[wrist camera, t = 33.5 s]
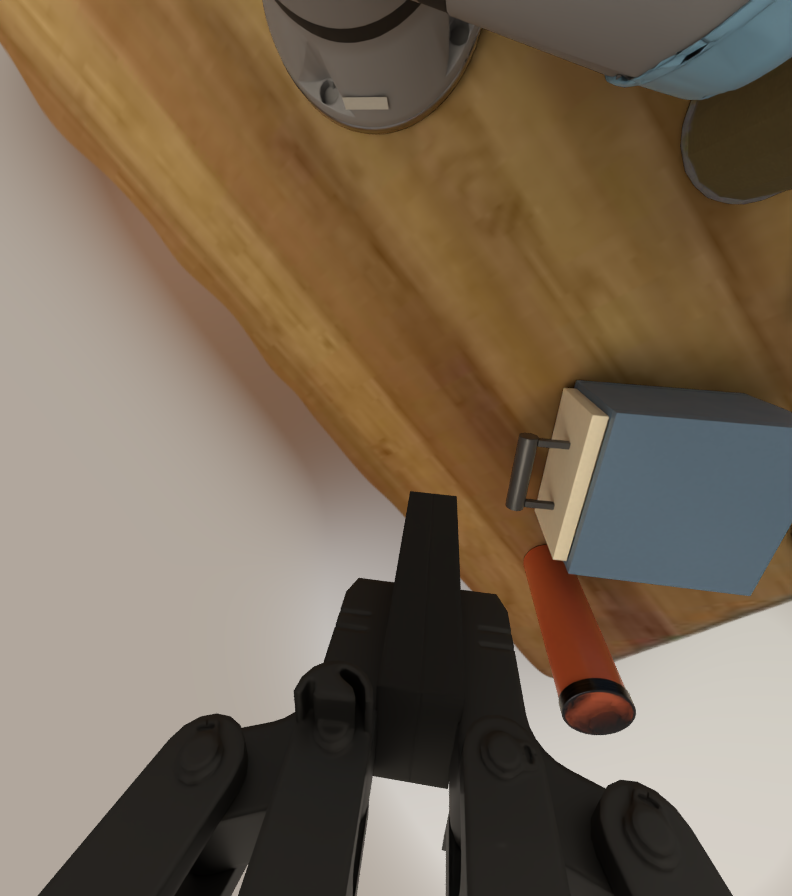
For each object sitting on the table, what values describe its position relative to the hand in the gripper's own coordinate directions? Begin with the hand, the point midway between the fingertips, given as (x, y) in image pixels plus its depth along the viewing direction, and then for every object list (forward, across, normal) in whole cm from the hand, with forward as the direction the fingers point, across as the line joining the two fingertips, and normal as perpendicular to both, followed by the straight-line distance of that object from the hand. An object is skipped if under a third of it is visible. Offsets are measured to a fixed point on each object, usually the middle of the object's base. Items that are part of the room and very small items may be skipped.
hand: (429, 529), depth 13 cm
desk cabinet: (+26, -20, +8) cm, 34 cm away
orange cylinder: (+26, -14, +22) cm, 37 cm away
